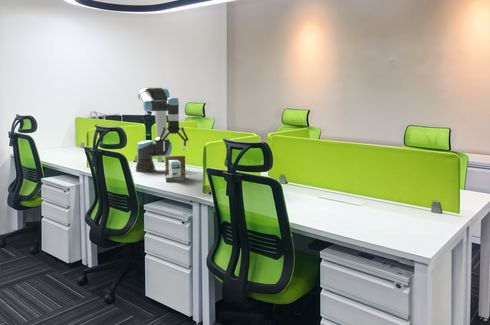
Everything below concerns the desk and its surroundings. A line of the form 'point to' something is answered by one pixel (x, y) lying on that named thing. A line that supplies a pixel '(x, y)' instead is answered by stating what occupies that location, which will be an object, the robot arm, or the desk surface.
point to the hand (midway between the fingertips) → (174, 150)
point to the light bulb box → (174, 168)
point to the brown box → (182, 160)
